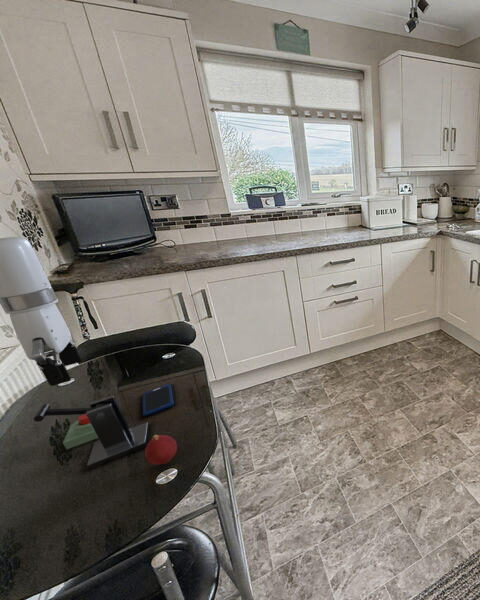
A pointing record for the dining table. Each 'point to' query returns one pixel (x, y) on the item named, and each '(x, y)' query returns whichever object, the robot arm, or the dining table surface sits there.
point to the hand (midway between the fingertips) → (67, 372)
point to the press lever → (62, 411)
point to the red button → (83, 419)
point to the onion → (160, 449)
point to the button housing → (79, 435)
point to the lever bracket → (113, 433)
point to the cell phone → (157, 400)
